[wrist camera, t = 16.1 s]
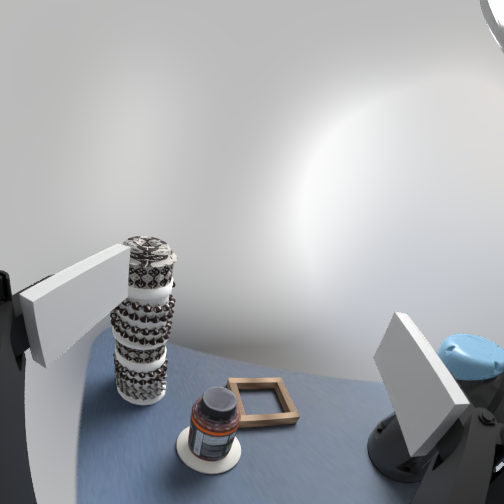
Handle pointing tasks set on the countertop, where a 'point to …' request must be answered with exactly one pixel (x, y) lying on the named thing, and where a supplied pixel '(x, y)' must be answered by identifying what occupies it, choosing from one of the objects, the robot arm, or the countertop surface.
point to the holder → (264, 419)
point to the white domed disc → (207, 466)
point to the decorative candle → (144, 322)
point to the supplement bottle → (213, 424)
